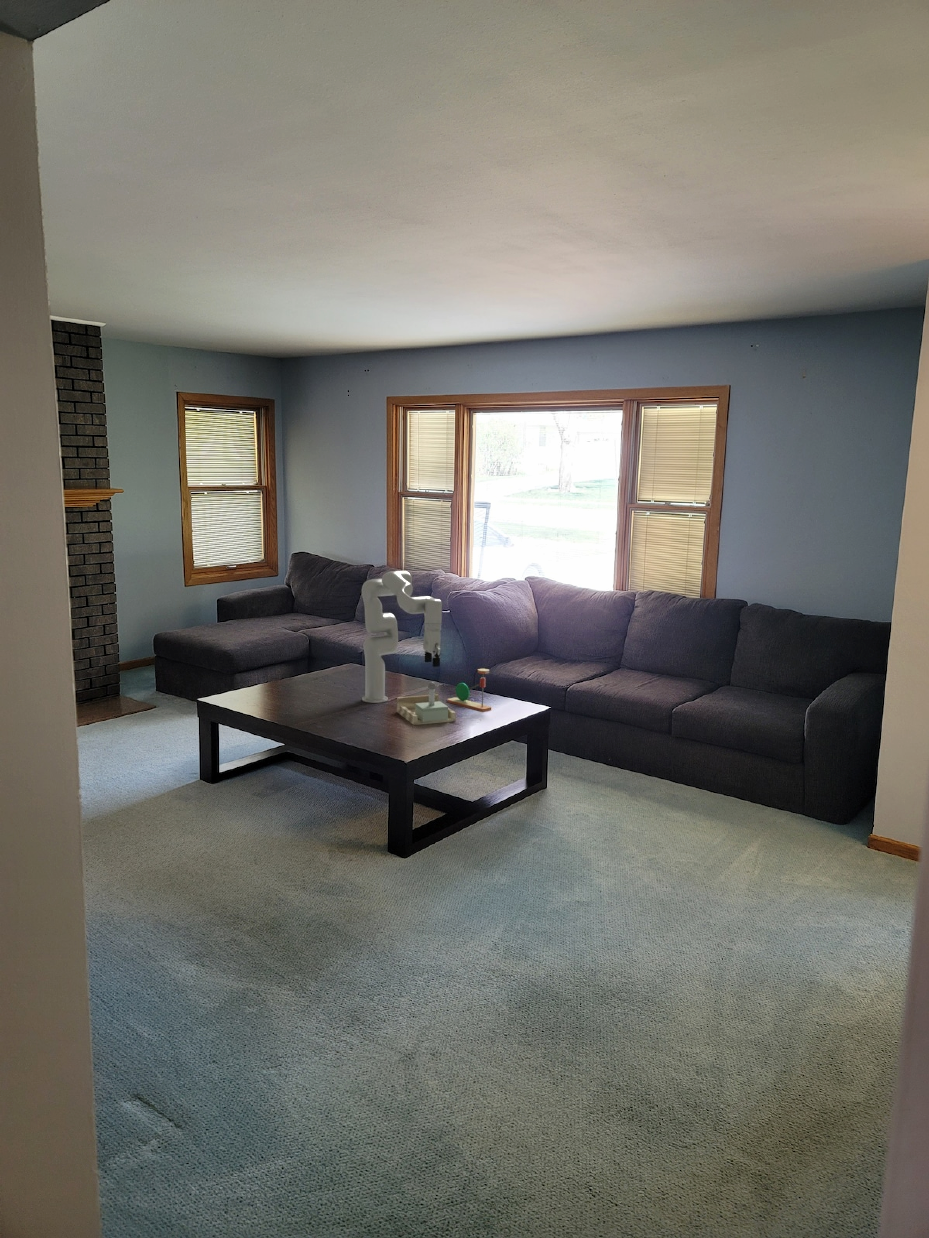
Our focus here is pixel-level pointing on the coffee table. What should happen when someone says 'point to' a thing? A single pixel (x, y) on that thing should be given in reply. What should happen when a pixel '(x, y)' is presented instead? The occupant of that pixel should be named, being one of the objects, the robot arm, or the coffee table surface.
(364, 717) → the coffee table surface
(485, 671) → the crank mechanism
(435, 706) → the green joystick
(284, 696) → the coffee table surface
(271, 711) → the coffee table surface
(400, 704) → the bay
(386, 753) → the coffee table surface
